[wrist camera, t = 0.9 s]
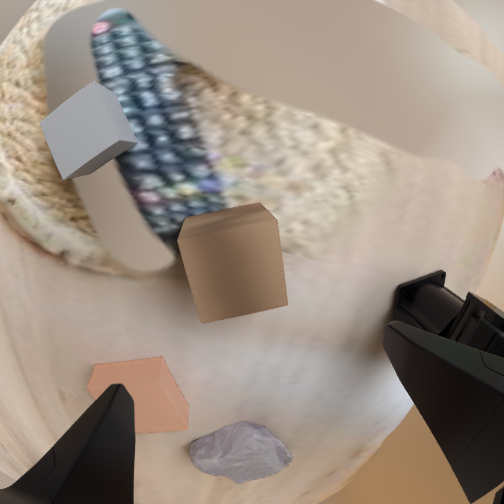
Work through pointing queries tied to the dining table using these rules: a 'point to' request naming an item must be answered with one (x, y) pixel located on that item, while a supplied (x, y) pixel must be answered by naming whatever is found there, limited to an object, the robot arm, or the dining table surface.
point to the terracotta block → (145, 393)
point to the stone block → (240, 452)
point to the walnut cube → (233, 262)
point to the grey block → (87, 131)
